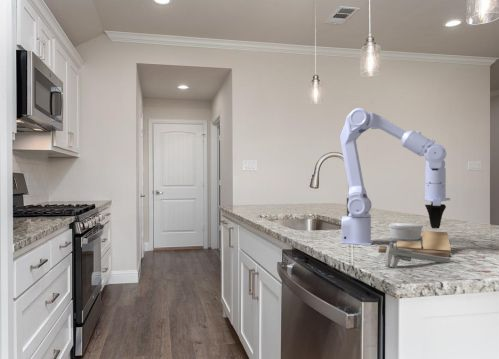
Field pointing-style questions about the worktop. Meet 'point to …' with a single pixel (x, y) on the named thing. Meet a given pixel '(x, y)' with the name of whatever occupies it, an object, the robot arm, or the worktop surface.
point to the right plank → (436, 241)
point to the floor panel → (420, 251)
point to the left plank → (408, 244)
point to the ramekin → (405, 231)
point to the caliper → (408, 256)
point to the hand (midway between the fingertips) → (435, 227)
